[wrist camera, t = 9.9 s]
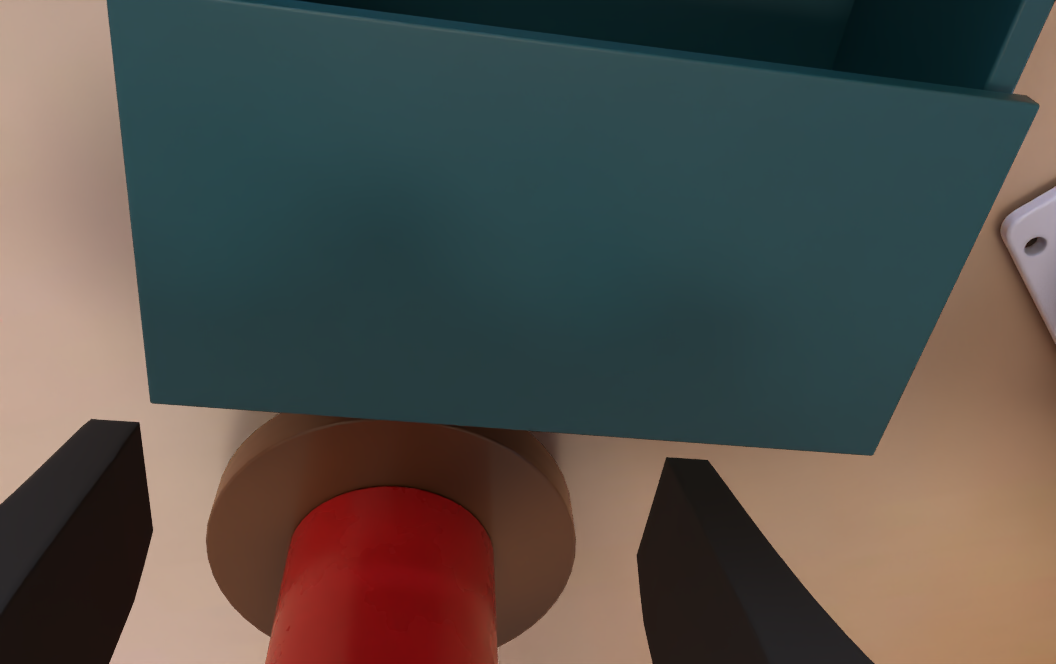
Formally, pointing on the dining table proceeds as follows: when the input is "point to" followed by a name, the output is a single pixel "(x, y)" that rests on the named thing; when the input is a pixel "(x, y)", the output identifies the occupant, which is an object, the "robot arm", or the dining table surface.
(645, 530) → the robot arm
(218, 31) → the teal box
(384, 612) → the can
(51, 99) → the dining table surface
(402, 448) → the coaster
